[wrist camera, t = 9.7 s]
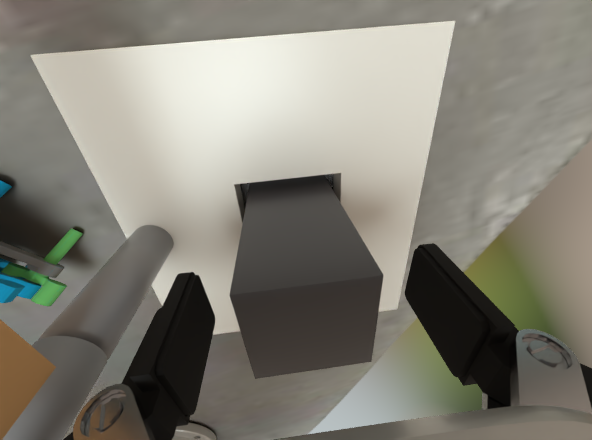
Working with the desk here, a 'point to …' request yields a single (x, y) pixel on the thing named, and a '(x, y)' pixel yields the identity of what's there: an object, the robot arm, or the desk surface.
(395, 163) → the socket block
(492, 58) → the desk surface
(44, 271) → the blue spiky figurine
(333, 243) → the plug
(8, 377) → the clip
